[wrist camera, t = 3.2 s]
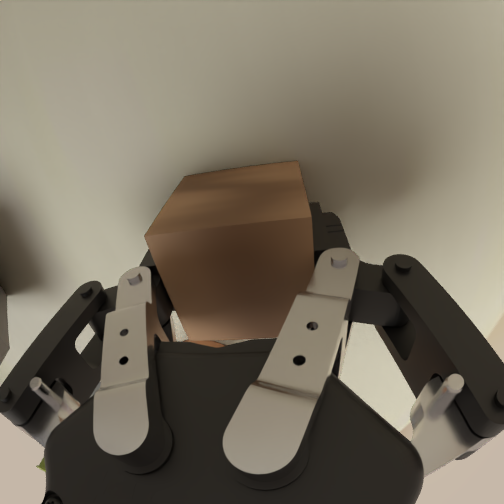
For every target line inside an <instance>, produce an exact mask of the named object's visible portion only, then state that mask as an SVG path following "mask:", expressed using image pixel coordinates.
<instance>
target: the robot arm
mask: <svg viewBox="0 0 504 504" xmlns="http://www.w3.org/2000/svg"><path fill="white" fill-rule="evenodd" d="M309 208H310V212H311V216H312V230H313V248H314V272H313V275H312V277H311V280H310V282H309V285H308V287H307V290H306V292H302V291H300V292H299V293H298V294H297V296H296V298H295V300H294V303H293V305H292V307H291V309H290V312H289V314H288V316H287V318H286V320H285V323H284V325H283V327H282V329H281V331H280V334H279V336H278V338H272V339H256V340H248V341H244V342H240V343H236V344H232V345H228V346H224V347H217V348H216V347H211V346H206V345H201V344H197V343H192V342H176V335H175V328H174V321H173V319H172V317H171V313H172V311H175V308H174V306H173V304H172V302H171V299H170V297H169V295H168V293H167V290H166V288H165V286H164V284H163V281H162V279H161V277H160V274H159V272H158V269H157V267H156V265H155V262H154V260H153V257H152V255H151V252H150V250H149V249H148V252H147V253H146V255H145V257H144V258H143V260H142V262H141V264H140V266H139V267H135V268H132V269H130V270H128V271H127V272H125V273H124V274H123V275H122V276H121V278H120V279H119V282H118V286H115V287H111V288H108V289H105V290H104V289H103V287H102V285H101V283H100V282H98V281H90V282H87V283H85V284H83V285H82V286H80V287H79V288H78V289H77V290H76V291H75V292H74V294H73V295H72V296H71V297H70V298H69V299H68V300H67V302H66V303H65V304H64V305H63V306H62V307H61V309H60V310H59V311H58V312H57V313H56V314H55V316H54V317H53V318H52V319H51V320H50V322H49V323H48V324H47V325H46V327H45V328H44V329H43V330H42V331H41V333H40V334H39V335H38V336H37V338H36V339H35V340H34V342H33V343H32V344H31V345H30V347H29V348H28V349H27V351H26V352H25V353H24V355H23V356H22V357H21V359H20V360H19V361H18V363H17V364H16V365H15V367H14V368H13V370H12V371H11V372H10V374H9V375H8V377H7V378H6V379H5V381H4V382H3V384H2V385H1V387H0V413H1V414H3V415H4V416H5V417H6V418H8V419H9V420H10V421H11V422H12V423H13V424H14V425H15V426H16V427H18V428H19V429H20V430H22V431H23V432H25V433H26V434H27V435H29V436H30V437H31V438H33V439H35V440H36V441H37V442H39V443H40V444H41V445H42V446H43V447H44V448H45V450H44V461H45V469H46V492H45V497H44V500H43V502H42V504H415V503H416V500H417V498H418V496H419V494H420V492H421V489H422V485H423V479H424V477H426V476H427V475H429V474H431V473H433V472H435V471H436V470H438V469H440V468H441V467H443V466H445V465H446V464H448V463H450V462H451V461H453V460H461V459H465V458H467V457H468V456H470V455H471V454H473V453H474V452H475V451H477V450H478V449H480V448H481V447H482V446H483V445H485V444H486V443H487V442H489V441H490V440H491V439H493V438H494V437H495V436H496V435H498V434H499V433H500V432H501V431H502V430H504V363H503V362H502V360H501V359H500V358H499V357H498V355H497V354H496V352H495V351H494V350H493V348H492V347H491V346H490V344H489V343H488V342H487V340H486V339H485V338H484V336H483V335H482V334H481V332H480V331H479V330H478V329H477V327H476V326H475V325H474V324H473V322H472V321H471V320H470V319H469V318H468V316H467V315H466V314H465V313H464V311H463V310H462V309H461V308H460V307H459V306H458V304H457V303H456V302H455V301H454V300H453V299H452V297H451V296H450V295H449V294H448V293H447V292H446V291H445V289H444V288H443V287H442V286H441V285H440V284H439V283H438V282H437V280H436V279H435V278H434V277H433V276H432V275H431V274H430V273H429V272H428V271H427V270H426V269H425V267H424V266H423V265H422V264H421V263H420V262H419V261H418V260H416V259H415V258H413V257H411V256H408V255H403V254H397V255H392V256H390V257H388V258H386V259H385V261H384V263H383V266H382V265H373V264H368V263H365V262H362V261H360V259H359V256H358V255H357V254H356V253H355V252H354V251H352V250H351V248H350V246H349V243H348V240H347V237H346V235H345V232H344V229H343V227H342V224H341V221H340V219H339V217H338V216H336V215H335V214H334V213H332V212H328V213H322V211H321V208H320V205H319V202H314V203H309ZM353 322H359V323H366V324H373V325H375V328H376V330H377V331H378V333H379V335H380V336H381V338H382V340H383V341H384V343H385V345H386V346H387V348H388V350H389V351H390V353H391V355H392V357H393V358H394V360H395V362H396V363H397V365H398V367H399V369H400V370H401V372H402V374H403V376H404V377H405V379H406V381H407V383H408V385H409V386H410V388H411V390H412V392H413V394H414V395H415V397H416V399H417V400H416V401H415V403H414V404H413V406H412V408H411V412H410V420H411V423H412V427H413V436H412V439H411V441H409V440H408V439H407V438H406V437H404V436H403V435H402V434H401V433H400V432H399V431H397V430H396V429H395V428H394V427H393V426H392V425H390V424H389V423H388V422H387V421H386V420H385V419H384V418H382V417H381V416H380V415H379V414H378V413H377V412H375V411H374V410H373V409H372V408H371V407H370V406H369V405H368V404H366V403H365V402H364V401H363V400H362V399H361V398H360V397H359V396H357V395H356V394H355V393H354V392H353V391H352V390H351V389H350V388H349V387H347V386H346V385H345V384H344V383H343V382H342V381H341V380H340V376H341V372H342V367H343V363H344V358H345V354H346V350H347V346H348V342H349V338H350V334H351V330H352V326H353ZM88 323H89V325H90V326H91V328H92V329H93V331H94V332H95V333H96V334H95V335H94V336H93V338H92V339H91V340H90V342H89V343H88V344H87V346H86V347H85V349H84V350H83V351H82V353H81V354H79V353H78V352H77V350H76V348H75V341H76V338H77V337H78V336H79V334H80V333H81V332H82V330H83V329H84V328H85V327H86V325H87V324H88ZM100 380H101V385H100V388H99V389H98V390H97V391H96V392H95V394H94V395H93V396H92V397H91V398H90V396H91V395H92V393H93V391H94V390H95V388H96V387H97V385H98V384H99V382H100Z"/></svg>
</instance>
